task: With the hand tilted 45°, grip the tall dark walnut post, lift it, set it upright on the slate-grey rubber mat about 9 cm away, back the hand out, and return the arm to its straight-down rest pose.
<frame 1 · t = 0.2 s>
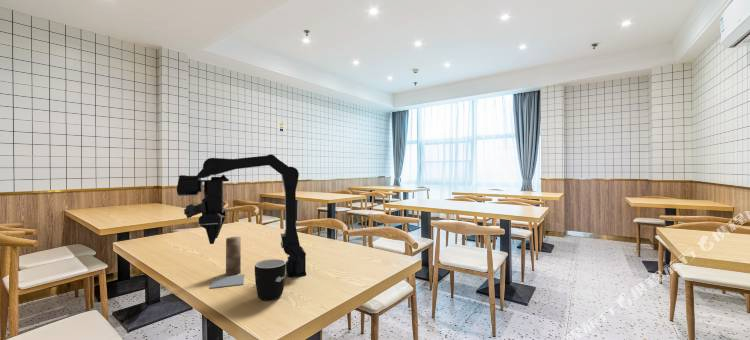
hand: (213, 240, 104), 14 cm above the table, tool pointing down, fingers open, 9 cm apart
mug: (272, 295, 94), on the table
post: (233, 273, 114), on the table
mat: (228, 281, 105), on the table
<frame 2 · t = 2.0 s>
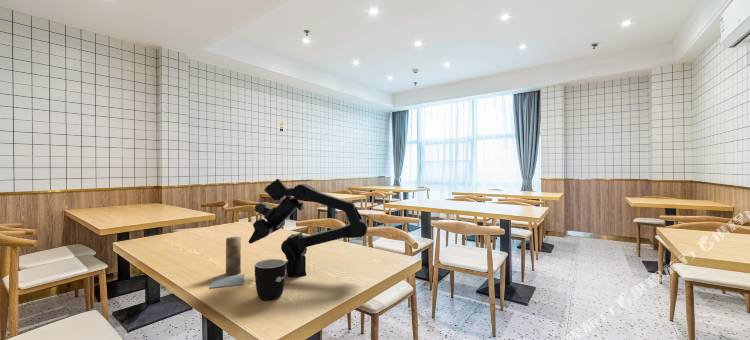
hand: (254, 239, 114), 12 cm above the table, tool tilted 45°, fingers open, 9 cm apart
nothing on the table moved.
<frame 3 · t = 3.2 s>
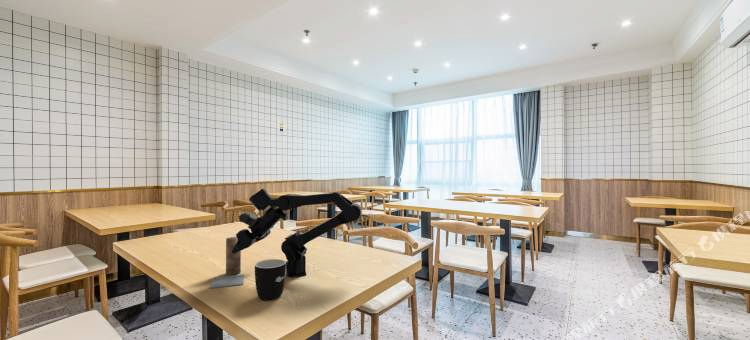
hand: (238, 249, 114), 9 cm above the table, tool tilted 45°, fingers open, 9 cm apart
nothing on the table moved.
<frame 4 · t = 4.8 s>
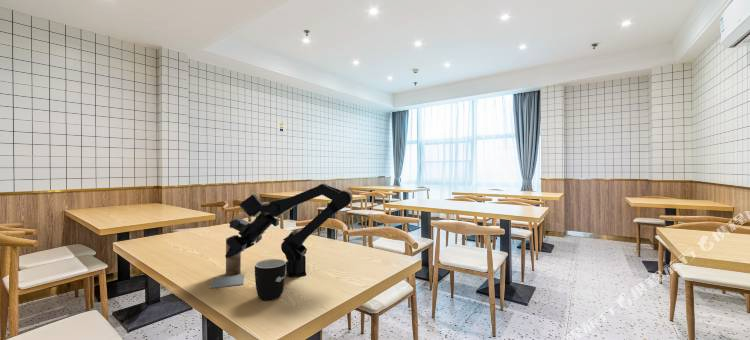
hand: (229, 255, 114), 7 cm above the table, tool tilted 45°, fingers closed on post, 5 cm apart
post: (233, 273, 114), on the table, touching gripper
everything else where it was.
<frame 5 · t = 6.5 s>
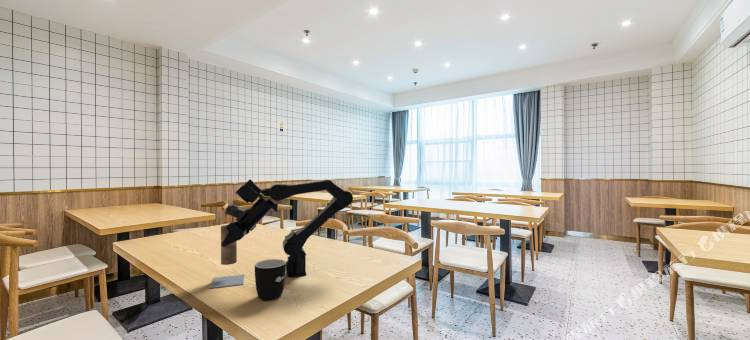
hand: (224, 244, 108), 12 cm above the table, tool tilted 45°, fingers closed on post, 5 cm apart
post: (228, 262, 108), point 6 cm above the table, touching gripper
everything else where it was.
when the fingers open (8 cm above the table, at t = 8.2 s): post drops 1 cm, resting on mat.
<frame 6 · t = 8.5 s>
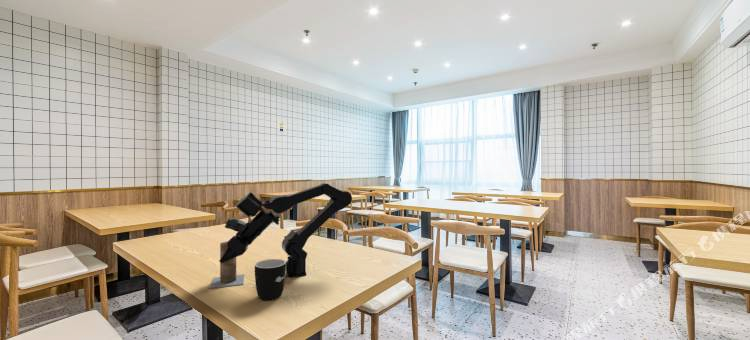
hand: (223, 258, 105), 8 cm above the table, tool tilted 45°, fingers open, 9 cm apart
post: (228, 280, 105), resting on mat
everything else where it was.
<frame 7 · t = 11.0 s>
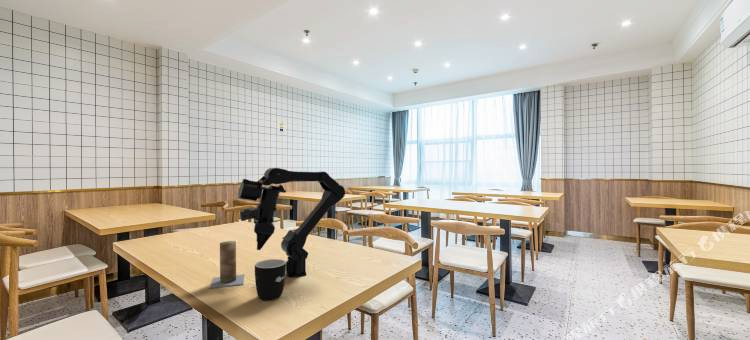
hand: (258, 245, 108), 12 cm above the table, tool pointing down, fingers open, 9 cm apart
nothing on the table moved.
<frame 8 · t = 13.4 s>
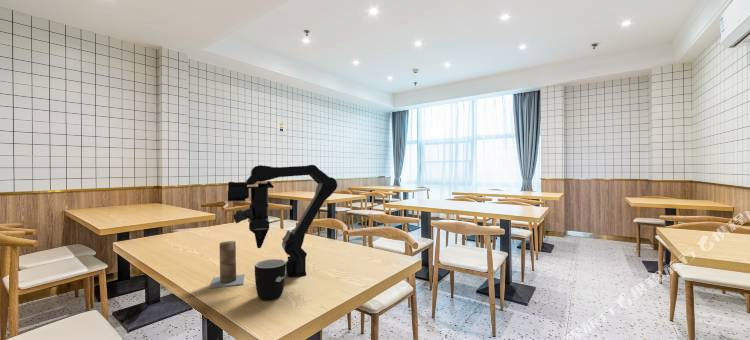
hand: (259, 244, 108), 12 cm above the table, tool pointing down, fingers open, 9 cm apart
nothing on the table moved.
at the end: post 0.1 cm off-centre on the mat, point 0.4 cm above the mat's base; post tilted 1°; the gripper is holding nothing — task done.
